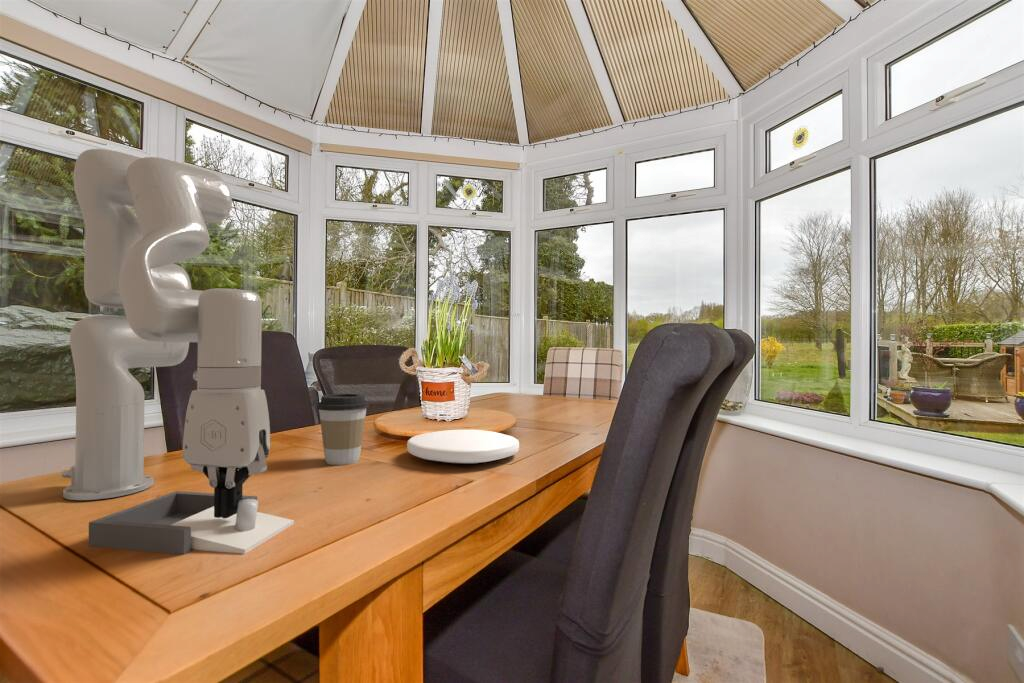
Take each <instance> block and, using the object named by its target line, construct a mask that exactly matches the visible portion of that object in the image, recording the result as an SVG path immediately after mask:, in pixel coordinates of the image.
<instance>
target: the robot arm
mask: <svg viewBox="0 0 1024 683" xmlns="http://www.w3.org/2000/svg"><path fill="white" fill-rule="evenodd" d="M73 186H74V192H75V195H76V200H77V203H78V206H79V209H80V212H81V214H82V218H83V222H84V229H85V239H84V258H83V259H84V262H83V263H84V264H83V265H84V266H83V268H84V270H83V288H84V293H85V294H84V295H85V297H86V298H87V300H88V301H89V302H90V303H91V304H93V305H94V306H95V305H96V306H100V307H106V308H112V309H122V310H123V309H124V314H125V315H107V314H106V315H103V314H102V315H93V316H88V317H84V318H82V319H80V320H79V321H76V322H75V323H74V325H73V326H72V328H71V329H70V333H69V345H70V351H71V355H72V361H73V366H74V367H73V368H74V374H75V397H76V398H75V451H74V453H75V458H74V459H75V461H74V462H75V463H74V464H73V465H72V466H70V467H69V469H65V470H63V471H62V473H61V477H62V478H65V479H66V478H67V479H70V480H71V481H70V482H71V483H70V485H68V486H67V487H64V489H63V490H62V497H63V498H64V499H65V500H70V501H95V500H105V499H111V498H118V497H122V496H128V495H131V494H135V493H138V492H142V491H145V490H147V489H149V488H151V487H152V486H153V485H154V481H155V480H154V476H152V475H147V474H144V465H145V464H144V457H145V456H144V454H145V452H144V451H145V450H144V448H145V391H144V390H145V389H144V388H143V386H142V384H141V383H140V382H139V381H138V380H137V379H136V378H135V377H134V375H133V374H131V372H130V371H129V369H137V368H161V367H162V368H163V367H173V366H174V367H175V366H177V365H180V364H181V363H183V362H184V361H185V359H186V358H187V356H188V353H189V349H190V343H197V363H196V364H197V368H196V369H197V370H195V371H194V372H193V373H192V379H193V380H194V381H196V389H195V390H192V391H191V393H190V395H189V400H188V404H187V408H186V411H185V412H186V413H185V419H184V428H183V440H182V459H183V461H184V462H185V463H186V464H188V465H190V468H191V469H192V470H193V471H195V472H196V471H197V472H199V473H203V474H204V476H205V477H206V478H207V479H208V483H209V487H211V488H212V489H214V490H213V494H214V517H215V518H220V517H222V518H228V517H230V516H232V515H234V514H236V513H237V509H238V502H239V501H240V500H242V495H243V484H245V483H246V482H247V481H248V479H249V478H250V477H251V476H253V475H256V474H257V475H258V474H261V473H264V472H265V471H267V470H268V465H267V460H266V459H267V458H268V457H269V455H270V449H271V427H270V424H271V423H270V413H269V408H268V400H267V395H266V391H265V389H261V388H262V386H261V385H262V335H263V334H262V325H263V324H262V320H263V319H262V318H263V316H262V314H263V313H262V312H263V302H262V298H261V297H260V295H259V294H257V293H256V292H254V291H251V290H247V289H238V288H227V287H226V288H224V287H223V288H220V287H219V288H209V289H205V290H199V289H192V283H191V279H190V277H189V275H188V273H187V271H186V270H185V269H184V268H183V267H182V266H180V265H178V264H176V263H181V262H184V261H185V262H186V261H187V260H190V259H193V258H195V257H197V256H199V255H201V254H202V253H203V252H205V251H206V249H207V248H208V247H209V244H210V241H211V240H210V232H209V230H208V226H207V225H206V223H212V224H213V223H215V224H216V223H221V222H223V221H224V220H226V219H227V217H228V216H229V215H230V212H231V209H232V206H233V196H232V193H231V190H230V187H229V186H228V184H227V182H226V181H225V180H224V178H222V177H221V176H220V175H219V174H217V173H214V172H211V171H208V170H205V169H201V168H198V167H195V166H192V165H188V164H185V163H181V162H178V161H174V160H171V159H166V158H162V157H158V156H157V157H154V156H153V157H152V156H149V157H148V156H146V157H140V156H135V155H133V154H128V153H125V152H121V151H116V150H111V149H103V148H91V149H89V148H88V149H87V150H84V151H82V152H80V154H79V155H78V157H77V158H76V161H75V164H74V170H73ZM128 206H131V207H133V209H134V212H135V214H134V213H133V211H131V209H130V208H129V207H128ZM250 463H251V464H250Z"/></svg>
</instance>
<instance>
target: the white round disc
mask: <svg viewBox="0 0 1024 683" xmlns="http://www.w3.org/2000/svg"><path fill="white" fill-rule="evenodd" d="M406 446H407V447H406V449H407V451H408V453H409V454H411V455H413V456H414V457H417V458H419V459H423V460H428V461H434V462H435V461H436V462H441V463H450V464H479V463H487V462H492V461H496V460H502V459H505V458H508V457H511V456H514V455H516V454H518V453H519V450H520V442H519V439H517V438H516V437H514V436H513V435H508V434H504V433H502V432H496V431H491V430H485V429H484V430H482V429H448V430H446V429H445V430H438V431H433V432H426V433H422V434H417V435H415V436H412V437H410V438H409V439H408V440H407V443H406Z"/></svg>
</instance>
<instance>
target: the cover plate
mask: <svg viewBox="0 0 1024 683" xmlns="http://www.w3.org/2000/svg"><path fill="white" fill-rule="evenodd" d="M258 508H259V500H258V499H257V500H255V499H243V500H240V501H239V502H238V509H237V513H236V514H234V515H232V516H230V517H228V518H222V517H220V518H215V517H214V506H213V507H211V508H209V509H206V510H204V511H202V512H199V513H197V514H195V515H192V516H190V517H188V518H186V519H183V520H181V521H179V522H176V523H174V524H172V525H174V526H187V527H191V548H192V549H194V550H197V551H199V550H200V551H207V552H219V553H230V554H231V553H232V554H240V555H241V554H242V555H245V554H247V553H249V552H250V551H251V550H253V549H256V547H258V546H260V545H262V544H264V543H265V542H267V541H268V540H269V539H271V538H273V537H275V536H276V535H278V534H280V533H281V532H283V531H285V530H286V529H288V528H289V527H291V526H292V525H294V523H295V522H294V521H295V520H293V519H289V518H285V517H281V516H277V515H272V514H268V513H264V512H259V511H258Z"/></svg>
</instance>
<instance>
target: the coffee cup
mask: <svg viewBox="0 0 1024 683" xmlns="http://www.w3.org/2000/svg"><path fill="white" fill-rule="evenodd" d="M365 397H366V396H365V395H364V394H361V393H360V394H359V393H336V394H335V393H334V394H324V395H322V396H321V399H320V401H319V402H318V403H316V406H317V407H316V409H317V410H318V413H319V420H320V427H321V428H320V430H321V437H322V446H323V447H322V448H323V455H324V460H325V463H326V464H327V465H332V466H346V465H353V464H355V463H358V462H359V458H360V457H361V450H362V442H363V435H364V429H365V422H366V415H367V408H370V405H369V402H368V400H366V399H365Z"/></svg>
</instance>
